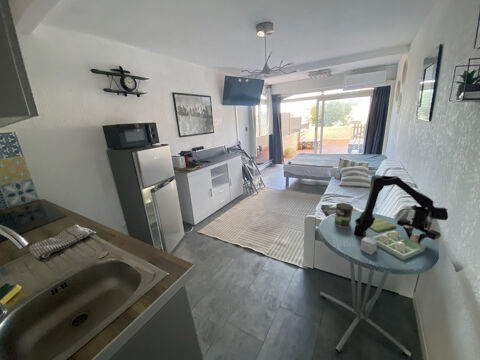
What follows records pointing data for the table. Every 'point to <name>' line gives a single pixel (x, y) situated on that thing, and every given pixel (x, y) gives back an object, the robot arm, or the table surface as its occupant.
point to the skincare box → (368, 245)
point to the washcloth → (381, 225)
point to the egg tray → (411, 246)
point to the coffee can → (343, 215)
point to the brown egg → (414, 238)
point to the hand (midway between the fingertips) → (414, 241)
